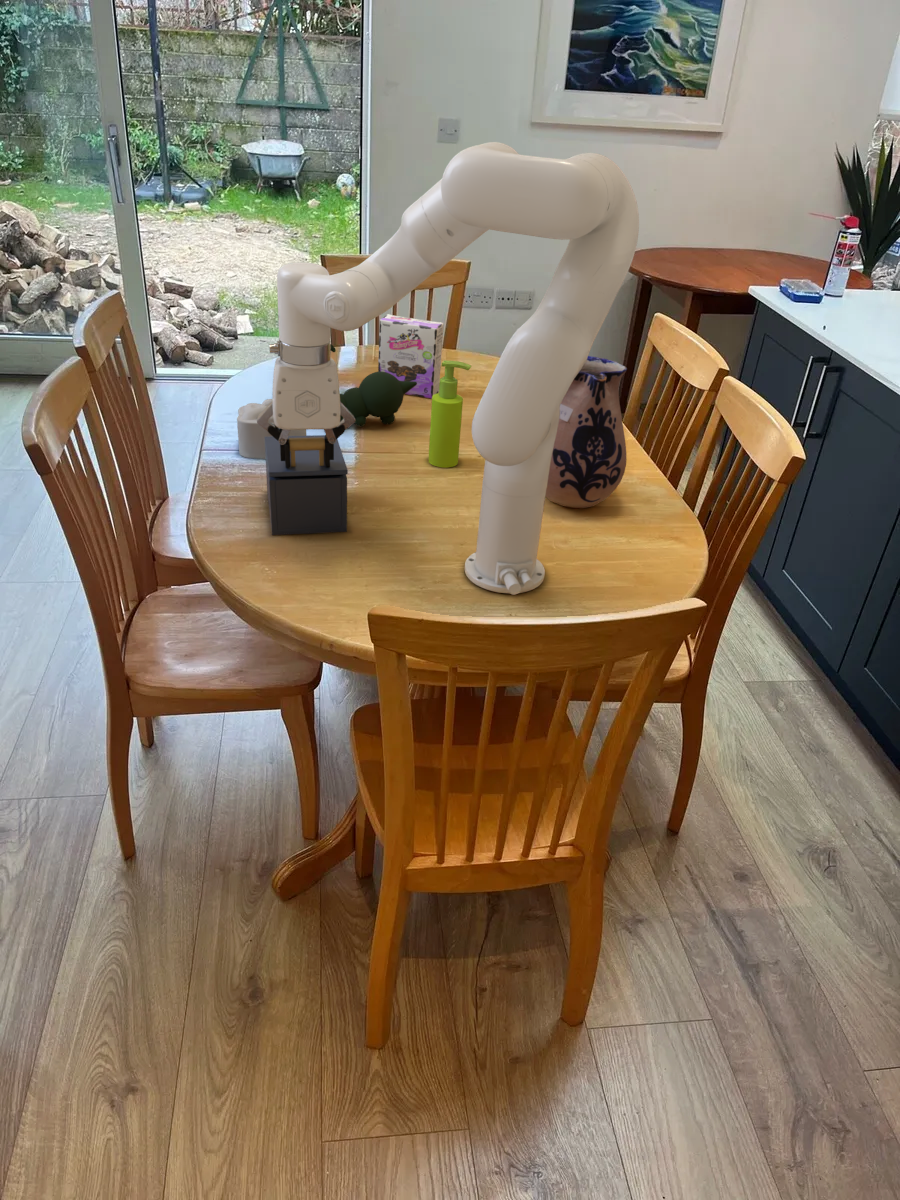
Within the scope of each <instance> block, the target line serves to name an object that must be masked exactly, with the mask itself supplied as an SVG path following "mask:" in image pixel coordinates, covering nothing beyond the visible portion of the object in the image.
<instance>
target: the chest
mask: <svg viewBox="0 0 900 1200" xmlns="http://www.w3.org/2000/svg"><path fill="white" fill-rule="evenodd" d="M265 457H266V459H265V473H266V475H265V477H266V494H267V502H268V503H267V505H268V511H269V513H268V514H269V521H270V529H271V536H282V535H283V536H285V535H304V534H306V535H307V534H325V533H328V534H329V533H347V532H348V476H347V474H345V475H314V476H283V477H269V471H268V463H267V455H266V447H265Z"/></svg>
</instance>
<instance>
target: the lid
mask: <svg viewBox="0 0 900 1200" xmlns="http://www.w3.org/2000/svg"><path fill="white" fill-rule="evenodd" d="M325 435H326V434H321V435H320V434H319V435H317V434H316V435H306V436H288V439H289V444H290V467H289V468H286V466H285V461H281V458H280V443H279V441H277V440H276V439H275V438H274V437H273V436H268V437H264V438H265V447H266V455H267V463H268V471H269V477H283V476H314V475H345V474H346V475H348V474H349V472H348V471H349V470H348V466H347V464H346V461H345V458H344V455H343V452H342V449H341V446H340V443H339V439H336V442H335V443H334V460H330V467H326V466H325V463H324V450H325V439H324V438H325Z"/></svg>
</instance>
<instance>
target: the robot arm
mask: <svg viewBox="0 0 900 1200" xmlns="http://www.w3.org/2000/svg"><path fill="white" fill-rule="evenodd" d="M638 207H639V206H638V201H637V197H636V195H635V192H634V190H633V188H632V185H631V183H630V181H629V179H628V178H627V176H626V174H625V173H624V172H623V170H622V169H621V168H620V167H619V165H618V164H617V163H616V162H614V161H613V160H612V159H611V158H608V157H607V156H606V155H604V154H600V153H596V152H583V153H578V154H575V155H573V156H571V157H568V158H565V159H564V158H554V157H544V156H537V155H536V156H535V155H526V154H519V152H518V151H516V149H515V148H513V147H512V146H510V145H509V144H506V143H503V142H499V141H489V142H484V143H481V144H476V145H473V146H469V147H466V148H464V149H462V150H460V151H459V152H458V153H456V154H455V155H454V156H453V157H452V158H451V159H450V160H449V162H448V164H447V165H446V167H445V168H444V171H443V174H442V177H441V178H440V180H438V181H437V182H435V184H433V185H432V186H431V187H430V188H429V189H428V190H427V191H426V192H424V193H423V194H422V195H421V196H420V197H418V199H416V200H415V201H414V202H413V203H412V204H410V205H409V206H407V208H406V209H405V210H404V211H403V213H402V215H401V218H400V225H399V227H398V229H397V230H396V232H395V233H394V234H393V235H392V236H391V237H390V238H389V239H388V240H387V241H386V242H385V243H384V244H382V245H381V246H380V247H379V248H378V249H376V251H374V252H373V253H372V254H371V255H369V257H367V258H366V259H365V260H364V261H362V262H361V263H359V264H358V265H356V266H353V267H350V268H348V269H345V270H344V271H342V272H338V273H334V274H330V272H329V271H328V269H327V268H326V267H324V266H323V265H320V264H317V263H313V262H305V261H301V262H300V261H295V262H289V263H284V264H283V265H282V266H280V267H279V268H278V270H277V273H276V288H277V289H276V291H277V292H276V293H277V295H276V296H277V319H278V340H276V342H274V343H269V344H268V345H269V354H274V355H277V358H276V359H275V362H274V368H273V374H272V375H273V376H272V378H273V379H272V391H271V392H272V393H271V395H272V398H271V399H272V401H271V402H270V404H269V405H268V406H267V407H266V408H265V409H264V410H263V411H262V412H261V413H260V415H259V416H258V417H257V423H258V424H259V425H260V426H261V427H262V428H264V429H265V430H267V431H268V432H269V434H270V435H272V436H273V437H274V438H275V439H276V440H277V441H279V443H280V458H281V461H285V466H286V468H289V467H290V444H289V439H288V436H289V433H290V430H306V431H307V430H324V435H325V438H324V439H325V450H324V463H325V466H326V467H330V460H334V443H335V442H336V439H337V440H339V438H340V437H341V436H342V435H343V434H344V433H345V432H346V430H348V429H350V427H351V426H352V425H354V424H355V423H354V422H355V417H354V415H353V414H352V413H351V412H350V411H349V410H348V409H347V408H346V407H345V406H344V405H343V404H342V403H341V402H340V394H341V393H340V380H339V372H338V367H337V363H336V361H335V360H334V359H333V358H332V356H331V355H332V354H331V353H332V351H331V344H332V342H331V329H333V330H337V331H341V332H351V331H355V330H357V329H359V328H361V327H363V326H364V325H366V324H368V323H370V321H372V320H374V319H376V318H378V317H379V316H381V315H383V314H384V313H386V312H388V310H390V309H391V308H393V307H394V306H395V305H397V304H398V302H400V301H401V300H403V299H404V298H405V297H406V296H407V295H408V294H410V293H411V292H412V291H414V290H415V289H416V288H417V287H419V286H420V285H421V284H422V283H424V282H425V280H427V279H428V278H429V277H431V276H432V275H433V274H435V273H436V272H439V271H441V269H443V267H445V266H446V265H447V264H448V263H449V262H450V261H452V260H454V258H455V257H457V256H458V255H459V254H460V253H462V252H463V251H464V250H465V249H466V248H467V247H469V246H470V245H471V244H472V243H474V242H475V241H476V240H478V239H479V238H480V237H481V236H483V235H484V234H486V233H487V232H488V231H489V230H491V231H496V232H503V233H509V234H516V235H522V236H529V237H537V238H543V239H550V240H561V241H565V240H566V241H567V240H568V244H567V246H566V249H565V251H564V253H563V255H562V257H561V258H560V260H559V262H558V264H557V266H556V268H555V271H554V273H553V276H552V278H551V281H550V282H549V285H548V287H547V288H546V290H545V293H544V295H543V297H542V298H541V301H540V302H539V304H538V306H537V308H536V310H535V311H534V312H533V313H532V314H531V316H530V317H529V318H528V319H527V320H526V321H525V322H524V323H523V324H522V325H520V326H519V327H518V328H517V329H516V331H514V333H513V334H512V335H511V337H510V339H509V340H508V342H507V344H506V345H505V348H504V349H503V351H502V353H501V355H500V357H499V360H498V362H497V364H496V366H495V368H494V370H493V373H492V375H491V377H490V379H489V381H488V384H487V385H486V388H485V390H484V392H483V394H482V397H481V399H480V401H479V403H478V405H477V407H476V409H477V410H475V412H474V415H473V417H472V422H471V437H472V442H473V445H474V447H475V449H476V451H477V452H478V454H479V455H480V456H481V457H482V458H483V459H484V467H483V475H482V476H483V477H482V486H481V495H480V507H479V518H478V529H477V539H476V548H475V549H476V550H475V552H473V553H472V554H470V555H469V556H468V557H467V558H466V559H465V563H464V572H465V573H464V575H465V576H466V577H467V579H468V580H469V581H470V582H471V583H473V584H475V585H476V586H477V587H480V588H482V589H484V590H487V591H490V592H495V593H500V594H501V593H502V594H511V595H514V596H515V595H517V594H521V593H526V592H530V591H532V590H535V589H536V588H538V587H539V586H540V585H541V584H542V583H543V582H544V580H545V575H546V569H545V566H544V564H543V563H542V562H541V561H540V560H539V559H538V553H539V546H540V539H541V530H542V523H543V518H544V517H543V516H544V509H545V501H546V497H545V495H546V488H547V483H548V476H549V469H550V463H551V457H552V452H553V447H554V442H555V438H556V433H557V428H558V423H559V416H560V404H561V402H562V400H563V398H564V396H565V394H566V392H567V391H568V389H569V387H570V385H571V383H572V382H573V380H574V378H575V377H576V375H577V374H578V373H579V371H580V370H581V369H582V367H583V365H584V364H585V362H586V360H587V358H588V356H590V355H589V354H590V352H591V349H592V347H593V344H594V342H595V340H596V338H597V336H598V333H599V332H600V330H601V328H602V326H603V324H604V322H605V320H606V318H607V317H608V314H609V313H610V311H611V308H612V306H613V304H614V302H615V299H616V298H617V295H618V294H619V292H620V289H621V287H622V285H623V283H624V281H625V279H626V277H627V274H628V273H629V270H630V268H631V265H632V263H633V260H634V256H635V253H636V249H637V244H638V240H639V231H640V216H639V215H640V214H639V208H638ZM272 415H273V418H274V423H275V425H274V424H273V423H271V422H270V421H269V418H270V417H271V416H272ZM340 415H341V416H342V417H343V420H342V421H341V422H340Z"/></svg>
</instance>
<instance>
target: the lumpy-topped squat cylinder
mask: <svg viewBox="0 0 900 1200" xmlns="http://www.w3.org/2000/svg"><path fill="white" fill-rule="evenodd" d="M271 401H272V398H267V399H265V400H263V402H262V403H257V402H249V403H246V404H245V405H241V406H240V407H239V408H237V409H238V410H237V412H238V413H237V414H238V416H237V417H236V423H237V424H236V426H237V439H238V441H237V442H238V453H239V456H241V457H243V458H247V459H254V460H255V459H257V460H258V459H259V460H260V459H261V460H266V457H265V438H264V437H268V436H272V435H270V434H269V432H268V431H267V430H265V429H264V428H262V427H261V426H260V425H259V424H258V423H257V417H258V416H259V415H260V413H261V412H262V411H263V410H264V409H265V408H266V407H267V406H268V405H269V404H270V402H271ZM269 421H270V422H271V423H273V424H274V425H275V423H274V418H273V415H272V416H271V417H270V418H269ZM289 436H307V430H290V433H289Z"/></svg>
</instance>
